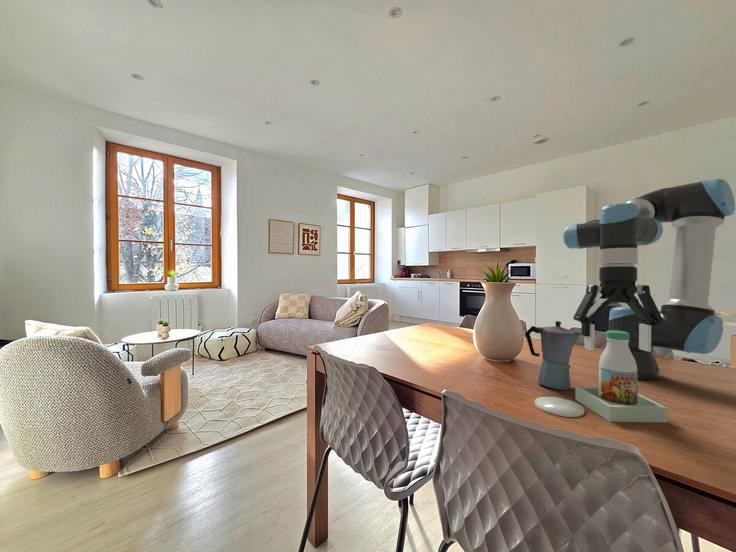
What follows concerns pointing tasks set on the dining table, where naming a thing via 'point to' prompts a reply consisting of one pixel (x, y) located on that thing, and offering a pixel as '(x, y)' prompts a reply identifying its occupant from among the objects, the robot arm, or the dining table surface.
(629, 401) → the milk bottle
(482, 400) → the dining table surface
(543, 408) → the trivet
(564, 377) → the moka pot
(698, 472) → the dining table surface
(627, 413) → the green square tray
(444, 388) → the dining table surface
